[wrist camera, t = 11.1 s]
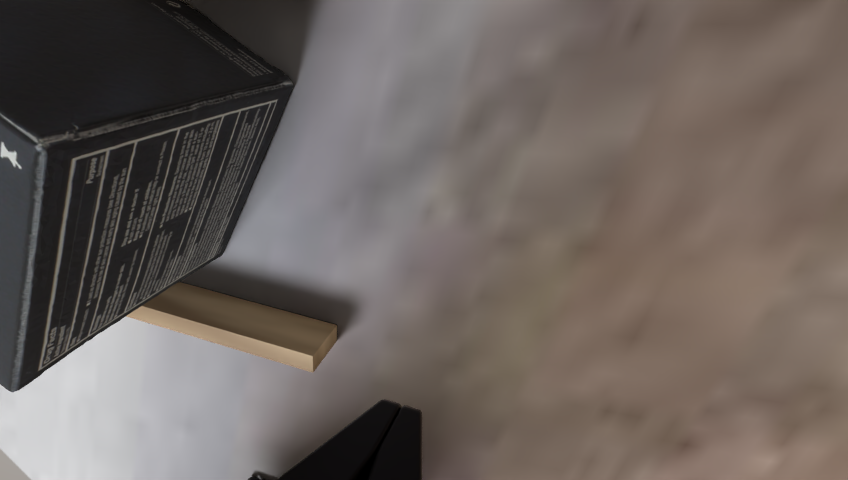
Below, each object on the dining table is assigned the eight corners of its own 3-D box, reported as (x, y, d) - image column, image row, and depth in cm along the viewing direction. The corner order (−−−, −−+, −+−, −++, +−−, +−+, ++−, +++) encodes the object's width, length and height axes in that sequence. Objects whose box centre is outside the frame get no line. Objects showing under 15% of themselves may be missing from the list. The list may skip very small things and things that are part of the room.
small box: (168, -14, 19) (-199, -33, 10) (300, 79, 19) (51, 143, 10) (120, 185, 25) (-148, 288, 16) (224, 258, 25) (17, 403, 16)
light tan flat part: (336, 340, 25) (296, 394, 21) (9, 248, 30) (-67, 280, 26) (341, -40, 17) (278, -51, 14) (-105, -81, 22) (-235, -98, 18)
